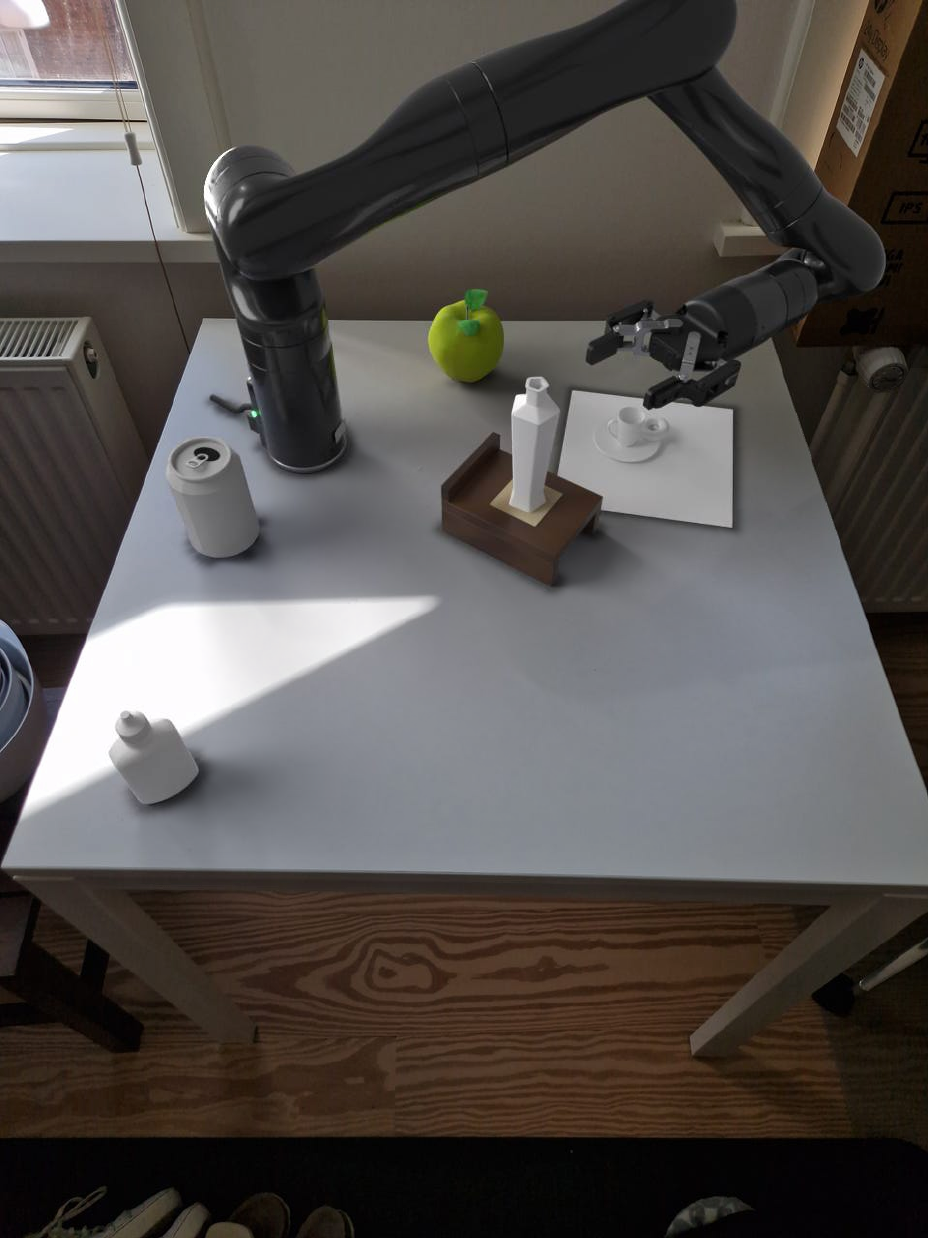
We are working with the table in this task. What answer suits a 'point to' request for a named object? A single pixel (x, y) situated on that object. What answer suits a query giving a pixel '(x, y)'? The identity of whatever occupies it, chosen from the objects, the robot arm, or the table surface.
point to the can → (212, 496)
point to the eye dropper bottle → (151, 757)
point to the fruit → (467, 338)
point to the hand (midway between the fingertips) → (616, 378)
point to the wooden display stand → (515, 513)
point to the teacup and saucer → (651, 457)
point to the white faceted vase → (532, 443)
